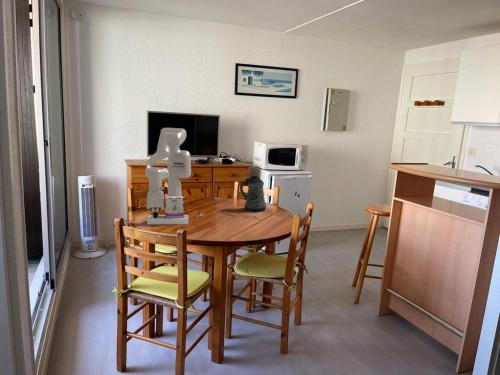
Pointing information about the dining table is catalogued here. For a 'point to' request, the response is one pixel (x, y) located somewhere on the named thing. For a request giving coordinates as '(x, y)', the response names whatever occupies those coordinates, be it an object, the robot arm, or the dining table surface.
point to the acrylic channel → (166, 220)
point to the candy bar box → (174, 207)
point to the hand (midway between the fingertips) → (155, 218)
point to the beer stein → (254, 194)
